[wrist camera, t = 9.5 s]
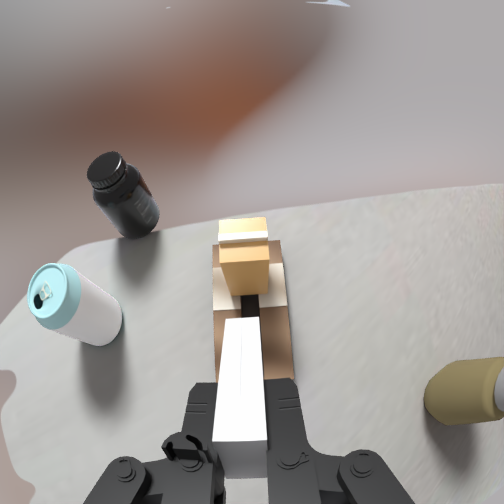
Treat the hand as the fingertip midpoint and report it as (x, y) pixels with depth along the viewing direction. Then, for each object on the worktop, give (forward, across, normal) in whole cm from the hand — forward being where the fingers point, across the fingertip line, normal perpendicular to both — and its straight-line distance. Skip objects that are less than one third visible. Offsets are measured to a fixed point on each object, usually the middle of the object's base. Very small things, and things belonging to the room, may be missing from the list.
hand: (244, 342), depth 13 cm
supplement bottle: (+28, -16, +1) cm, 32 cm away
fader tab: (+19, 0, -6) cm, 20 cm away
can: (+18, -20, -10) cm, 28 cm away
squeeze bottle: (+8, +23, -20) cm, 31 cm away
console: (+18, 0, -9) cm, 20 cm away
